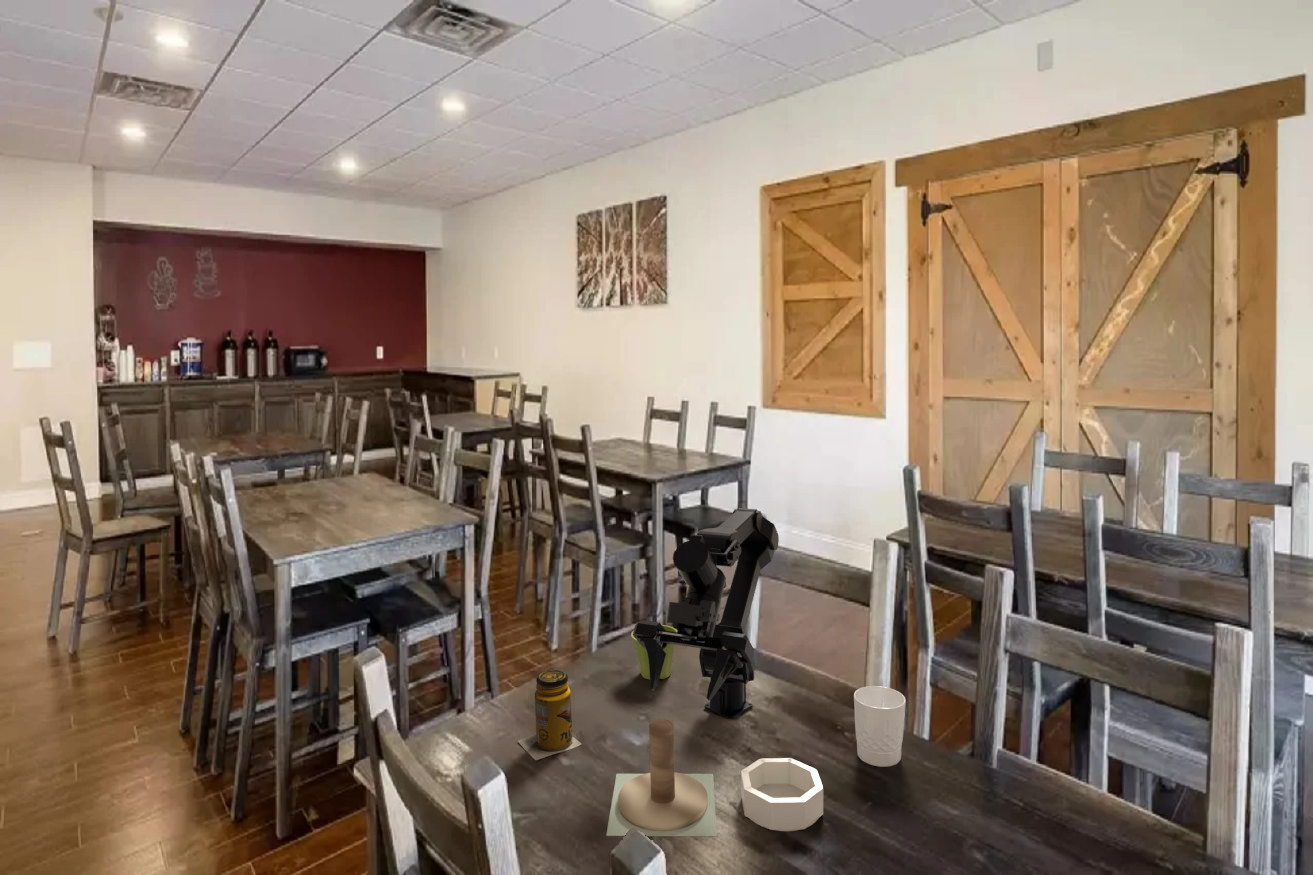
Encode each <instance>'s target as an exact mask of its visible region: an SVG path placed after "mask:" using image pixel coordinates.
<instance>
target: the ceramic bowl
mask: <svg viewBox="0 0 1313 875" xmlns="http://www.w3.org/2000/svg"><path fill="white" fill-rule="evenodd" d="M740 787H741V788H740V789H741V790H740V792H741V793H740V795H741V796H740V797H741V802H742V809H743V814H744V817H747V818H749V820H750V821H751V822H753V823H754V824H756V825H758V826H761V827H762V828H765V829H769V830H770V831H778V832H796V831H801V830H806V829H807V828H809V827H811V826H813V825H814V824H815V823H816V822H817V821H818V820H819V818H821V816H823V815H824V787H823V784H822V780H821V778H820V775H819V772H818V770H817V769H816V768H814V767H813V766H809V765H807V764H805V763H803V762H801V761H798V760H796V759H794V758H792V757H777V758H776V757H773V758H759V759H757V760H756V761H754V762H753V763H751V764H749V765H747V766H746V767H745V768H743V769H742V770H741V771H740Z"/></svg>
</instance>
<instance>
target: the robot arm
mask: <svg viewBox="0 0 1313 875" xmlns="http://www.w3.org/2000/svg"><path fill="white" fill-rule="evenodd" d="M689 536H690V537H689V540H687V541H685V542H682V543H680V544H679V545H678V547H676V549H675V550H674V552H673V554H672V562H673V565H674V566H675V568H676V570H677V572H678V573H679V575H680V576H681V577H682V579H683V581H684V582H685V584H686V585H688V589H687V591H686V596H683V597H682V598H681V600H680V602H675V601H669V603H668V609H667V610H668V612H667V619H666V623H667V624H669V623H670V624H671V627H673V628H674V629H676V630H677V632H671V631H666V630H665V629H664V628H663V626H662V625H663V624H661V622H658V621H651V620H643V619H640V620H639V621H638V622H637V623H636V624H635V625H634V629H633V631H634V632H633V631H632V632H633V636H634V637H635V638H636V639H637V641H638V642H639V643H640V644H641V645H642V647H644V648H645V649H646V651H647V654H648V659H649V670H650V680H649V684H650V689H651V691H656V688H657V687H658V684H659V681H660V679H661V678H660V674H661V671H662V667H663V664H664V660H665V656H666V653H665V652H664V650H663V649H664V648H666V647H667V643H668V644H674V646H675V645H676V646H683V647H689V648H690V647H691V648H695V649H700V650H699V657H698V658H699V665H700V671H701V675H702V678H710V680H709V684H708V688H707V693H706V699H707V700H708V701H709V702H707V703H705V704H704V709H706V710H709V711H711V712H713V713H715V714H718V715H720V716H723V717H724V718H727V719H734V718H736V717H737V716H739V715H742V714H743V713H745V712H747V711H749V710H750V709H752V708H753V705H754V704H753V703H752V702H749V701H747V684H748V683H749V682H751V681H754V680H755V670H756V668H755V664H756V662H755V660H754V659H753V658H754V650H755V649H754V647H753V645H752V643H751V641H750V640H749V637H748V636H747V635H746V634H745V631H746V628H747V624H748V619H749V616H750V612H751V608H752V604H753V601H754V596H755V593H756V589H757V585H758V581H759V578H760V573H761V571H762V570H763V568H765V567H766V566H767V565H768V564H770V563H771V562H772V560H773V556H774V554H775V551H777V550H778V548H779V533H778V531H777V528H776V525H775V523H773V522H772V521H770V520H769V519H768V518H766V517H765V516H763V513H762V512H761V510H758V509H756V508H743V507H738V508H734V510H733V511H732V514H731V515H730V516H729V517H727V519H726V520H725V521H723V522H722V523H721V524H720V525H719V526H717V527H713V528H712V527H711V528H710V527H709V528H704V529H701V530H699V531H698V532H697V533H696V534H690V535H689ZM736 562H737V564H736V566H735V569H734V573H733V577H732V581H731V583H730V584H731V585H730V587H729V591H728V595H727V598H726V601H725V605H724V609H723V612H722V616H721V619H720V613H719V611H720V607H721V603H722V602H721V601H722V599H723V593H724V590H725V588H726V587H727V580H726V579H727V578H726V575H725V574H724V572H723V570H722V569H720V568H719V567H724V568H725V567H727V568H731V567H733V566H734V565H735V563H736ZM719 620H720V622H719ZM717 622H719V623H718V624H717Z"/></svg>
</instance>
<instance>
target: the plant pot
mask: <svg viewBox="0 0 1313 875" xmlns="http://www.w3.org/2000/svg"><path fill="white" fill-rule="evenodd" d="M661 625H662V626H663V628H664V629H665V630H666V631H671V632H677V629H674V628H673V626H669V625H667V624H666V625H664V624H661ZM633 632H634V630H632V631H631V633H630V637H631V639H632V640H633V643H634V645H635V649H636V654H637V660H638V665H639V671H640V674H641V677H642V678H644V679H647V680H649V681H650V670H649V659H648V654H647V651H646V649H645V648H644V647H642V645H641V644H640V643H639V642H638V641H637V639H636V638H635V637H634V636H633ZM674 648H675V644H668V643H667V647H666V648H664V649H663V650H664V652H665V653H666V656H665V660H664V664H663V667H662V671H661V674H660V678H659V679H661V680H665V679H667V678H668V677H670V676H671V674H672V667H673V659H674V650H675V649H674Z"/></svg>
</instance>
